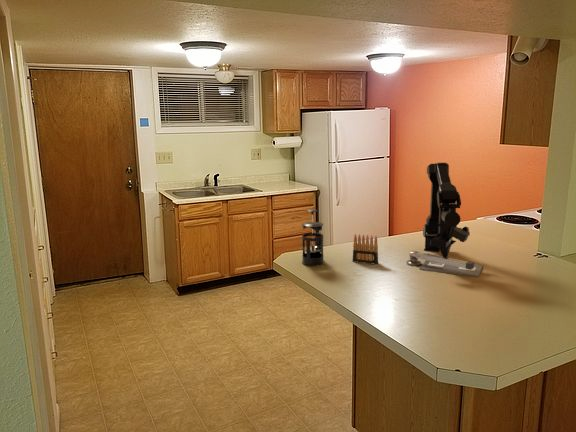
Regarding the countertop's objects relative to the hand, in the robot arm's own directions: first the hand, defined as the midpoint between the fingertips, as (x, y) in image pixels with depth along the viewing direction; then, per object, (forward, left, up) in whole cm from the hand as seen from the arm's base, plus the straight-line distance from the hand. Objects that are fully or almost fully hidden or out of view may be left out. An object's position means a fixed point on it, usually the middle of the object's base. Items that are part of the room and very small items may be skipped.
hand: (445, 258), depth 187 cm
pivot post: (-13, +2, -4) cm, 14 cm away
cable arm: (-2, -1, -1) cm, 3 cm away
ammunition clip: (-32, -4, -4) cm, 32 cm away
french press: (-52, -13, -4) cm, 54 cm away
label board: (+2, +2, -4) cm, 5 cm away
